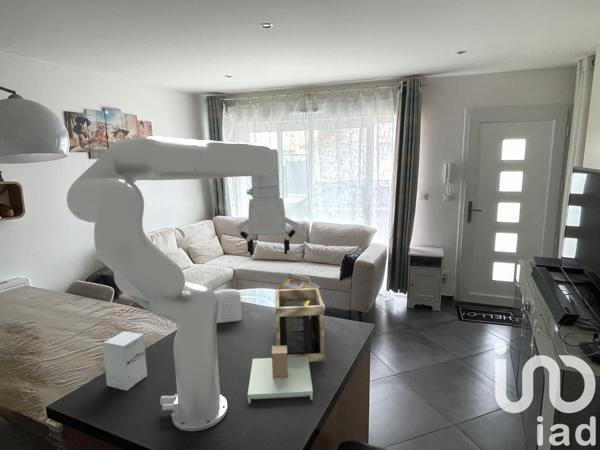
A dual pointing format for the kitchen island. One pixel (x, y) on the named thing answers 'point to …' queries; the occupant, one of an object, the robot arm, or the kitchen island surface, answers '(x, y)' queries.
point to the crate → (316, 310)
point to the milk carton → (297, 282)
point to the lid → (280, 376)
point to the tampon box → (299, 330)
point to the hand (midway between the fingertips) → (269, 253)
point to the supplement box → (125, 360)
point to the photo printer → (228, 305)
